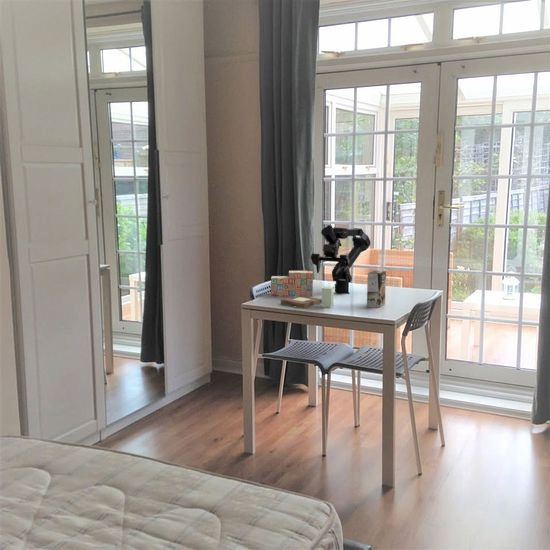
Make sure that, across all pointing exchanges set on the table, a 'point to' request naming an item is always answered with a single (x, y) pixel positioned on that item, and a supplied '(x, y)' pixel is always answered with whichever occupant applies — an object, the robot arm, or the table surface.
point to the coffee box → (376, 288)
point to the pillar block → (327, 296)
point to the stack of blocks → (293, 284)
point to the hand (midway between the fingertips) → (326, 273)
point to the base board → (301, 301)
